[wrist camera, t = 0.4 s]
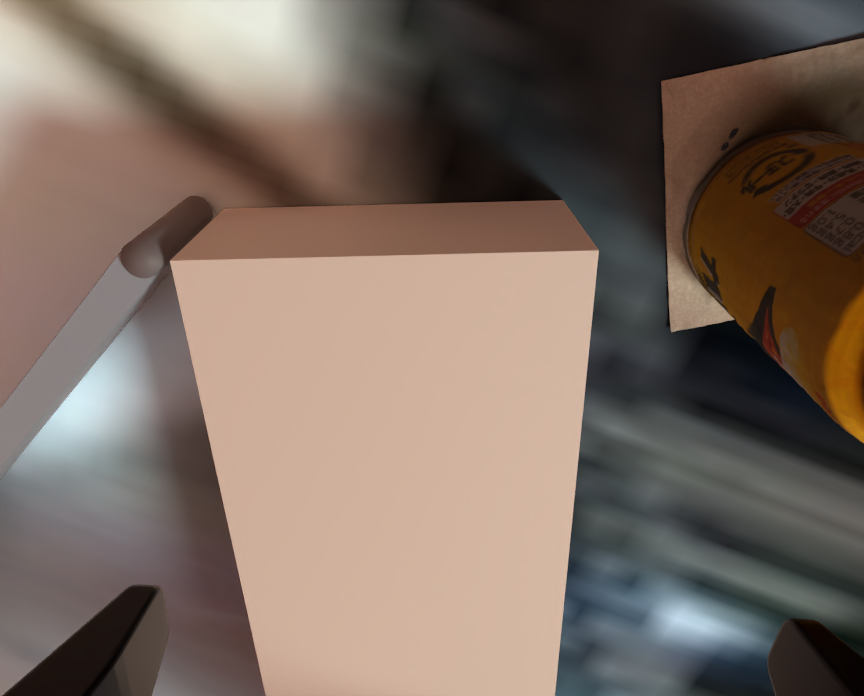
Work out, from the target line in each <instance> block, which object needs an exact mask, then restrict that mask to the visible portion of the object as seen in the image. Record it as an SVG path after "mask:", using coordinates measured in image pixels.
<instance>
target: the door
mask: <svg viewBox="0 0 864 696" xmlns="http://www.w3.org/2000/svg"><path fill="white" fill-rule="evenodd" d="M212 215H213V213H212V208H211V206H210V205H209V203H208V202H207V201H206V200H204V199H203V198H201V197H198V196H191V197H188V198H186V199H185V200H184V201H182V202H181V203H180V204H178V205H177V206H176V207H175V208H173V209H172V210H171V211H169V212H168V213H167V214H165V215H164V216H163V217H162V218H160V219H159V220H158V221H156V222H155V223H154V224H152V225H151V226H150V227H149V228H147V229H146V230H145V231H143V232H142V233H141V234H139V235H138V236H137V237H136V238H134V239H133V240H132V241H130V242H129V243H128V244H126V245H125V246H124V247H123V249H122V251H121V252H120V253H119V255H118V256H117V257H116V259H115V260H114V261H113V262H112V264H111V265H110V266H109V268H108V269H107V270H106V272H105V273H104V274H103V275H102V277H101V278H100V279H99V281H98V282H97V283H96V285H95V286H94V287H93V289H92V290H91V291H90V292H89V294H88V295H87V296H86V298H85V299H84V300H83V302H82V303H81V304H80V305H79V307H78V308H77V309H76V311H75V312H74V313H73V315H72V316H71V317H70V318H69V320H68V321H67V322H66V324H65V325H64V326H63V328H62V329H61V330H60V332H59V333H58V334H57V335H56V337H55V338H54V339H53V341H52V342H51V343H50V345H49V346H48V347H47V348H46V350H45V351H44V352H43V354H42V355H41V356H40V358H39V359H38V360H37V361H36V363H35V364H34V365H33V367H32V368H31V369H30V371H29V372H28V373H27V374H26V376H25V377H24V378H23V380H22V381H21V382H20V384H19V385H18V386H17V388H16V389H15V390H14V391H13V393H12V394H11V395H10V397H9V398H8V399H7V401H6V402H5V403H4V404H3V406H2V407H1V408H0V479H1V478H2V476H3V475H4V474H5V473H6V471H7V470H8V469H9V468H10V467H11V465H12V464H13V463H14V462H15V460H16V459H17V458H18V457H19V455H20V454H21V453H22V452H23V451H24V449H25V448H26V447H27V446H28V444H29V443H30V442H31V441H32V440H33V438H34V437H35V436H36V435H37V433H38V432H39V431H40V430H41V429H42V427H43V426H44V425H45V424H46V422H47V421H48V420H49V419H50V417H51V416H52V415H53V414H54V413H55V411H56V410H57V409H58V408H59V406H60V405H61V404H62V403H63V402H64V400H65V399H66V398H67V397H68V395H69V394H70V393H71V392H72V390H73V389H74V388H75V387H76V386H77V384H78V383H79V382H80V381H81V379H82V378H83V377H84V376H85V375H86V373H87V372H88V371H89V370H90V368H91V367H92V366H93V365H94V363H95V362H96V361H97V360H98V359H99V357H100V356H101V355H102V354H103V352H104V351H105V350H106V349H107V348H108V346H109V345H110V344H111V343H112V341H113V340H114V339H115V338H116V337H117V335H118V334H119V333H120V332H121V330H122V329H123V328H124V327H125V325H126V324H127V323H128V322H129V321H130V319H131V318H132V317H133V316H134V314H135V313H136V312H137V311H138V310H139V308H140V307H141V306H142V305H143V303H144V302H145V301H146V300H147V298H148V297H149V296H150V295H151V294H152V292H153V291H154V290H155V289H156V287H157V286H158V285H159V284H160V283H161V281H162V280H163V279H164V278H165V276H166V275H167V274H168V273H169V271H170V270H171V269H172V268H171V264H170V260H171V259H172V258H173V257H174V256H175V255H176V254H177V253H179V252H180V251H181V250H182V249H183V248H184V247H185V246H186V245H187V244H188V243H189V242H190V241H191V240H192V239H193V238H194V237H195V236H196V235H197V234H198V233H199V232H200V231H201V230H202V229H203V228H204V227H206V225H207V224H208V223H209V222H210V221H211V219H212Z"/></svg>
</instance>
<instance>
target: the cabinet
mask: <svg viewBox="0 0 864 696" xmlns="http://www.w3.org/2000/svg"><path fill="white" fill-rule="evenodd" d="M598 253H599V250H598V249H597V247H596V246H595V244H594V243H593V242H592V240H591V239H590V237H589V236H588V235H587V233H586V232H585V230H584V229H583V228H582V226H581V225H580V223H579V222H578V221H577V219H576V218H575V216H574V215H573V214H572V212H571V211H570V210H569V208H568V207H567V205H566V204H565V203H564V201H563V200H548V201H508V202H467V203H427V204H386V205H346V206H305V207H265V208H225V209H223V210H222V211H221V212H220V213H219V214H218V215H217V216H216V217H215V218H214V219H213V220H212V221H211V222H210V223H209V224H208V225H207V226H206V227H204V228H203V229H202V230H201V231H200V232H199V233H198V234H197V235H196V236H195V237H194V238H193V239H192V240H191V241H190V242H189V243H188V244H187V245H186V246H185V247H184V248H183V249H182V250H181V251H180V252H179V253H177V254H176V255H175V256H174V257H173V258H172V259H171V260H170V264H171V268H172V273H173V277H174V282H175V287H176V291H177V296H178V300H179V305H180V309H181V314H182V318H183V323H184V327H185V332H186V336H187V341H188V345H189V350H190V355H191V359H192V364H193V368H194V373H195V377H196V382H197V386H198V391H199V395H200V400H201V404H202V409H203V414H204V418H205V423H206V427H207V432H208V436H209V441H210V445H211V450H212V454H213V459H214V463H215V468H216V472H217V477H218V482H219V486H220V491H221V495H222V500H223V504H224V509H225V513H226V518H227V522H228V527H229V531H230V536H231V540H232V545H233V550H234V554H235V559H236V563H237V568H238V572H239V577H240V581H241V586H242V590H243V595H244V599H245V604H246V609H247V613H248V618H249V622H250V627H251V631H252V636H253V640H254V645H255V649H256V654H257V658H258V663H259V667H260V672H261V677H262V681H263V686H264V690H265V695H266V696H555V688H556V678H557V668H558V658H559V648H560V638H561V628H562V618H563V608H564V597H565V587H566V577H567V567H568V557H569V547H570V537H571V527H572V516H573V506H574V496H575V486H576V476H577V466H578V456H579V446H580V436H581V425H582V415H583V405H584V395H585V385H586V375H587V365H588V355H589V344H590V334H591V324H592V314H593V304H594V294H595V284H596V274H597V264H598Z"/></svg>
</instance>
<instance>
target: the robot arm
mask: <svg viewBox="0 0 864 696" xmlns="http://www.w3.org/2000/svg"><path fill="white" fill-rule="evenodd" d="M168 634H169V623H168V616H167V610H166V603H165V597H164V592H163V590H162V588H161V587H160V586H156V585H132V586H130V587H128V588H127V589H125V590H124V591H123V592H122V593H121V594H120V595H118V596H117V597H116V598H115V599H114V600H113V601H111V602H110V603H109V604H108V605H107V606H106V607H104V608H103V609H102V610H101V611H100V612H99V613H98V614H96V615H95V616H94V617H93V618H92V619H91V620H89V621H88V622H87V623H86V624H85V625H84V626H82V627H81V628H80V629H79V630H78V631H77V632H75V633H74V634H73V635H72V636H71V637H70V638H68V639H67V640H66V641H65V642H64V643H63V644H62V645H60V646H59V647H58V648H57V649H56V650H55V651H53V652H52V653H51V654H50V655H49V656H48V657H46V658H45V659H44V660H43V661H42V662H41V663H39V664H38V665H37V666H36V667H35V668H34V669H33V670H31V671H30V672H29V673H28V674H27V675H26V676H24V677H23V678H22V679H21V680H20V681H19V682H17V683H16V684H15V685H14V686H13V687H12V688H10V689H9V690H8V691H7V692H6V693H5V694H4V695H2V696H152V693H153V689H154V686H155V682H156V679H157V675H158V672H159V669H160V665H161V662H162V658H163V655H164V651H165V648H166V644H167V640H168ZM768 671H769V675H770V679H771V682H772V685H773V688H774V692H775V695H776V696H864V658H863V657H862V656H861V655H859V654H858V653H857V652H856V651H854V650H853V649H852V648H851V647H849V646H848V645H847V644H846V643H844V642H843V641H842V640H841V639H840V638H838V637H837V636H836V635H835V634H833V633H832V632H831V631H830V630H828V629H827V628H826V627H825V626H823V625H822V624H821V623H819V622H817V621H815V620H809V619H788V620H786V621H785V622H784V623H783V624H782V626H781V629H780V631H779V633H778V635H777V637H776V639H775V641H774V643H773V646H772V648H771V650H770V652H769V655H768Z"/></svg>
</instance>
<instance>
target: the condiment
mask: <svg viewBox="0 0 864 696" xmlns="http://www.w3.org/2000/svg"><path fill="white" fill-rule="evenodd" d="M661 87H662V105H663V139H664V159H665V183H666V187H665V195H666V239H667V265H668V289H669V313H670V326H671V332H674V331H678V330H683V329H689V328H695V327H701V326H706V325H709V324H716V323H721V322H724V321H729V320H736V321H737V323H738V324H739V325H740V326H742V327H743V329H744V330H745V331H746V332H747V333H748V334H749V335H750V336H751V337H753V338H754V339H755V340H757V342H758V343H759V345H760V346H761V347H762V349H763V350H764V351H765V352H766V354H767V355H769V356H770V357H771V358H772V359H774V360H775V361H777V362H778V363H779V365H780V366H781V367H782V368H783V369H784V370H785V371H786V372H787V373H789V374H790V375H791V376H792V377H793V378H794V380H795V381H796V382H797V383H798V384H799V385H800V386H801V387H803V388H804V389H805V390H806V392H807V393H808V394H809V395H810V396H811V397H812V398H813V399H814V401H816V402H817V403H818V404H819V405H820V406H821V407H822V408H823V409H824V410H825V412H826V413H827V414H828V415H829V416H830V417H831V418H832V419H833V420H834V421H835V422H836V423H838V424H839V425H840V426H841V427H842V428H843V429H845V430H846V431H847V432H848V433H850V434H851V435H853V436H854V437H855V438H856V439H858V440H859V441H860V442H862V443H864V38H862V39H857V40H852V41H847V42H843V43H839V44H835V45H828V46H822V47H818V48H814V49H809V50H804V51H799V52H795V53H790V54H786V55H781V56H776V57H771V58H766V59H759V60H757V61H752V62H748V63H744V64H740V65H735V66H730V67H725V68H720V69H715V70H710V71H705V72H702V73H697V74H693V75H688V76H684V77H679V78H674V79H670V80H665V81H661ZM736 128H738V129H739V130H738V132H737V134H736V135H735V136H734V137H733V138H732V139H729V135H730V133H731V132H732V130H733V129H736ZM726 142H729V146H728V148H727V149H725V150H724V151H723V150H721V147H722V146H723V145H724V143H726Z"/></svg>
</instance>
